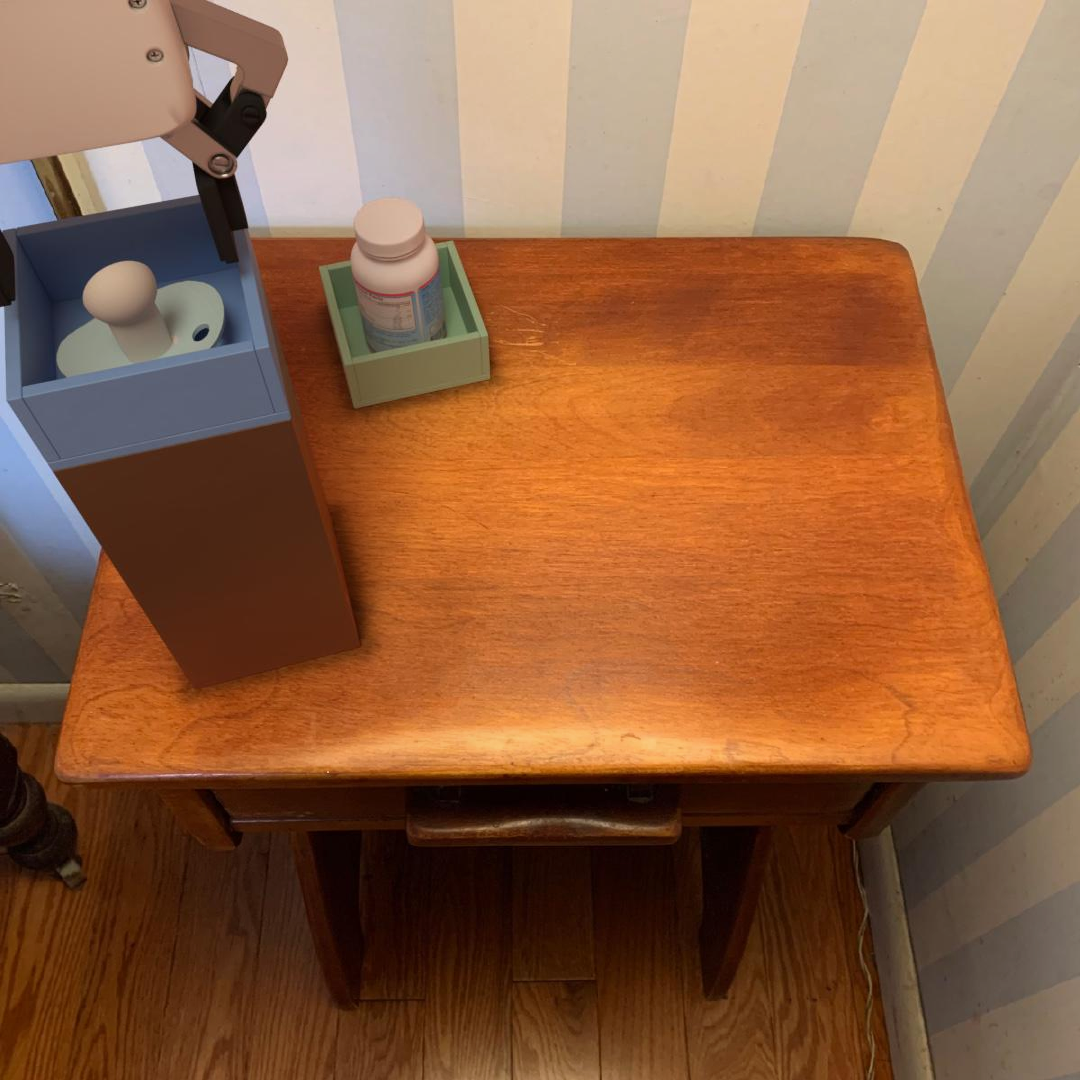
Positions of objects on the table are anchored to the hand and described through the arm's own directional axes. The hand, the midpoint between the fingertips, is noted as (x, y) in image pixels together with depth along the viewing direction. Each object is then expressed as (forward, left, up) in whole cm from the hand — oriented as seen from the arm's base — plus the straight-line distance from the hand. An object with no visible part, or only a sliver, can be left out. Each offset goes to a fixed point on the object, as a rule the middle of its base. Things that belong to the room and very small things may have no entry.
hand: (118, 260), depth 42 cm
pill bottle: (+14, +19, -28) cm, 36 cm away
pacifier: (0, 0, -5) cm, 5 cm away
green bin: (+14, +19, -28) cm, 36 cm away
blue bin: (0, 0, -28) cm, 28 cm away
